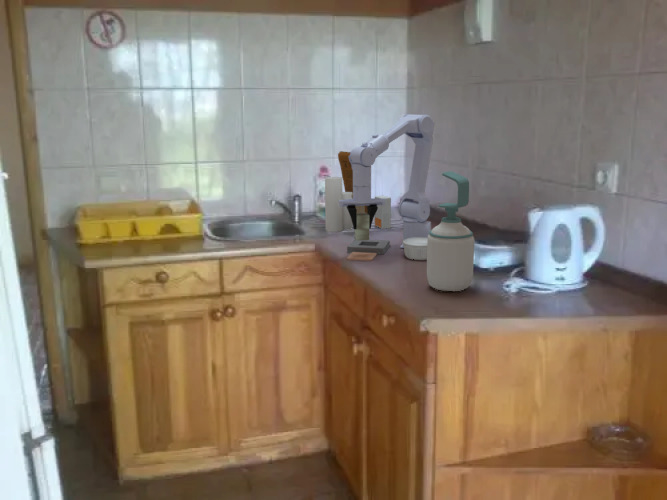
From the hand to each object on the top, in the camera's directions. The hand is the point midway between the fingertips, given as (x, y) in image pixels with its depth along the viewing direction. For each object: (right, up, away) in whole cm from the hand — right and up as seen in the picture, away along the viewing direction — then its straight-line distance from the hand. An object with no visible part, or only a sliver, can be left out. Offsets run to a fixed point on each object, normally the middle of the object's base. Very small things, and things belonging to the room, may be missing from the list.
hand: (362, 228), depth 218 cm
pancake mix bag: (0, +5, +63) cm, 63 cm away
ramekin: (+19, -9, +2) cm, 21 cm away
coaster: (0, -9, +2) cm, 9 cm away
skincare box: (+10, +2, +48) cm, 50 cm away
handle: (+1, -1, +37) cm, 37 cm away
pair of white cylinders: (-7, +1, +46) cm, 46 cm away
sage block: (0, -3, +1) cm, 4 cm away
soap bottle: (+22, -17, -32) cm, 42 cm away
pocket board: (+3, -7, +13) cm, 15 cm away
